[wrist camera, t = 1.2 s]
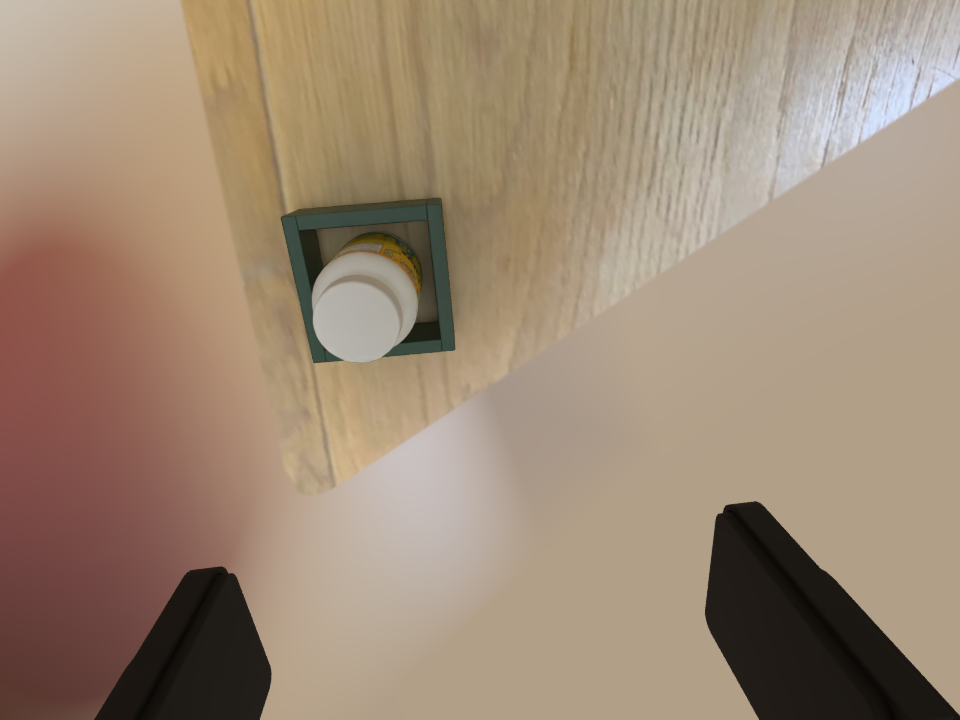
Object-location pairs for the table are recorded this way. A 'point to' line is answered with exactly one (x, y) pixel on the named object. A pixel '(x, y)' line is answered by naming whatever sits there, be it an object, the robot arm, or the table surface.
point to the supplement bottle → (367, 297)
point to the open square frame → (305, 222)
